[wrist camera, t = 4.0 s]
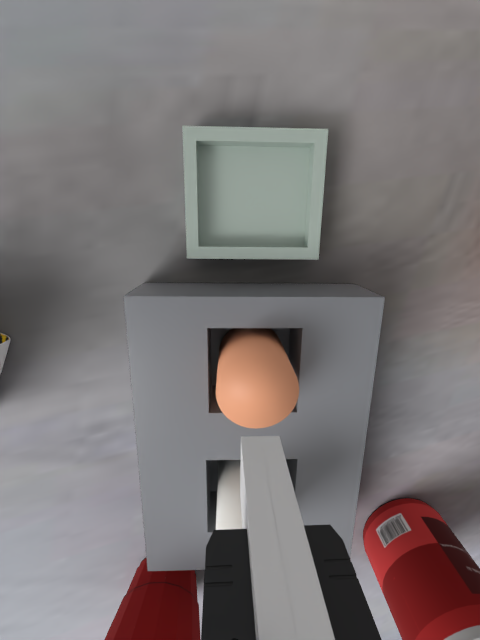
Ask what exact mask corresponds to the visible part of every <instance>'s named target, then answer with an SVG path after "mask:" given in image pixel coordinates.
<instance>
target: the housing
mask: <svg viewBox="0 0 480 640" xmlns="http://www.w3.org/2000/svg"><path fill="white" fill-rule="evenodd" d="M123 299H124V310H125V321H126V332H127V344H128V355H129V366H130V377H131V389H132V400H133V411H134V423H135V434H136V445H137V456H138V468H139V479H140V490H141V501H142V513H143V524H144V535H145V547H146V558H147V569H148V571H177V570H205V556H206V546H207V543H208V541H209V539H210V537H211V535H212V533H213V531H214V530H216V510H217V487H218V464H219V460H241V437H250V436H279V437H280V440H281V444H282V448H283V451H284V455H285V459H286V462H287V466H288V470H289V473H290V477H291V481H292V484H293V488H294V492H295V495H296V499H297V503H298V506H299V510H300V514H301V517H302V521H303V524H304V525H329V524H330V525H331V526H332V527H333V529H334V530H335V531H336V532H337V533H338V535H339V536H340V537H341V538H342V539H343V542H344V544H345V547H346V549H347V552H348V554H349V557H350V554H351V546H352V539H353V531H354V524H355V517H356V509H357V502H358V494H359V487H360V479H361V472H362V465H363V457H364V450H365V442H366V435H367V427H368V420H369V412H370V405H371V398H372V390H373V383H374V375H375V368H376V360H377V353H378V346H379V338H380V331H381V323H382V316H383V308H384V301H385V297H383V296H381V295H379V294H376V293H374V292H372V291H370V290H367V289H365V288H363V287H361V286H358V285H356V284H274V283H143V284H142V285H140V286H138V287H137V288H135V289H134V290H132V291H131V292H129V293H128V294H126V295H125V296H123ZM232 328H270V329H272V330H273V331H274V332H275V333H276V334H277V336H278V337H279V339H280V341H281V343H282V345H283V348H284V350H285V352H286V354H287V356H288V359H289V361H290V363H291V365H292V367H293V370H294V372H295V374H296V376H297V379H298V382H299V397H298V400H297V403H296V405H295V407H294V409H293V410H292V412H291V413H290V414H289V415H288V416H287V417H286V418H285V419H283V420H282V421H281V422H279V423H277V424H275V425H273V426H270V427H266V428H257V429H255V428H246V427H243V426H240V425H238V424H236V423H234V422H232V421H231V420H229V419H228V418H227V417H226V416H225V415H224V414H223V412H222V411H221V409H220V408H219V405H218V403H217V399H216V380H217V368H218V356H219V347H220V344H221V341H222V339H223V337H224V336H225V335H226V334H227V332H228V331H230V330H231V329H232Z"/></svg>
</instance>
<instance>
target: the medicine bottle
mask: <svg viewBox="0 0 480 640" xmlns="http://www.w3.org/2000/svg"><path fill="white" fill-rule="evenodd" d="M10 341H11V339H10V337H9V336H8V335H5V334H3V333H0V375H1V372H2V368H3V365H4V361H5V358H6V355H7V351H8V348H9V344H10Z"/></svg>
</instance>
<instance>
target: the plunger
mask: <svg viewBox="0 0 480 640" xmlns="http://www.w3.org/2000/svg"><path fill="white" fill-rule="evenodd" d="M298 397H299V382H298V379H297V376H296V374H295V372H294V370H293V367H292V365H291V363H290V361H289V359H288V356H287V354H286V352H285V350H284V348H283V345H282V343H281V341H280V339H279V337H278V336H277V334H276V333H275V332H274V331H273V330H272V329H270V328H232V329H231V330H230V331H228V332H227V334H226V335H225V336H224V337H223V339H222V341H221V344H220V347H219V356H218V368H217V380H216V399H217V403H218V405H219V408H220V409H221V411H222V412H223V414H224V415H225V416H226V417H227V418H228V419H229V420H231V421H232V422H234V423H236V424H238V425H240V426H243V427H246V428H255V429H257V428H266V427H270V426H273V425H275V424H277V423H279V422H281V421H282V420H283V419H285V418H286V417H287V416H288V415H289V414H290V413H291V412H292V410H293V409H294V407H295V405H296V403H297V400H298Z"/></svg>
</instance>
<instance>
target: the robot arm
mask: <svg viewBox="0 0 480 640" xmlns="http://www.w3.org/2000/svg"><path fill="white" fill-rule="evenodd" d="M240 500H241V515H242V529H226V530H214V531H213V533H212V535H211V537H210V539H209V541H208V543H207V546H206V556H205V576H204V596H203V615H202V635H201V640H381V637H380V635H379V632H378V630H377V627H376V624H375V622H374V619H373V617H372V614H371V611H370V609H369V606H368V604H367V601H366V598H365V596H364V593H363V591H362V588H361V586H360V583H359V580H358V579H357V577H356V573H355V570H354V567H353V565H352V562H350V557H349V554H348V552H347V549H346V547H345V544H344V542H343V539H342V538H341V537H340V536H339V535H338V533H337V532H336V531H335V530H334V529H333V527H332V526H331V525H330V524H329V525H304V524H303V521H302V517H301V514H300V510H299V506H298V503H297V499H296V495H295V492H294V488H293V484H292V481H291V477H290V473H289V470H288V466H287V462H286V459H285V455H284V451H283V448H282V444H281V440H280V437H279V436H250V437H241V464H240Z"/></svg>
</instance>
